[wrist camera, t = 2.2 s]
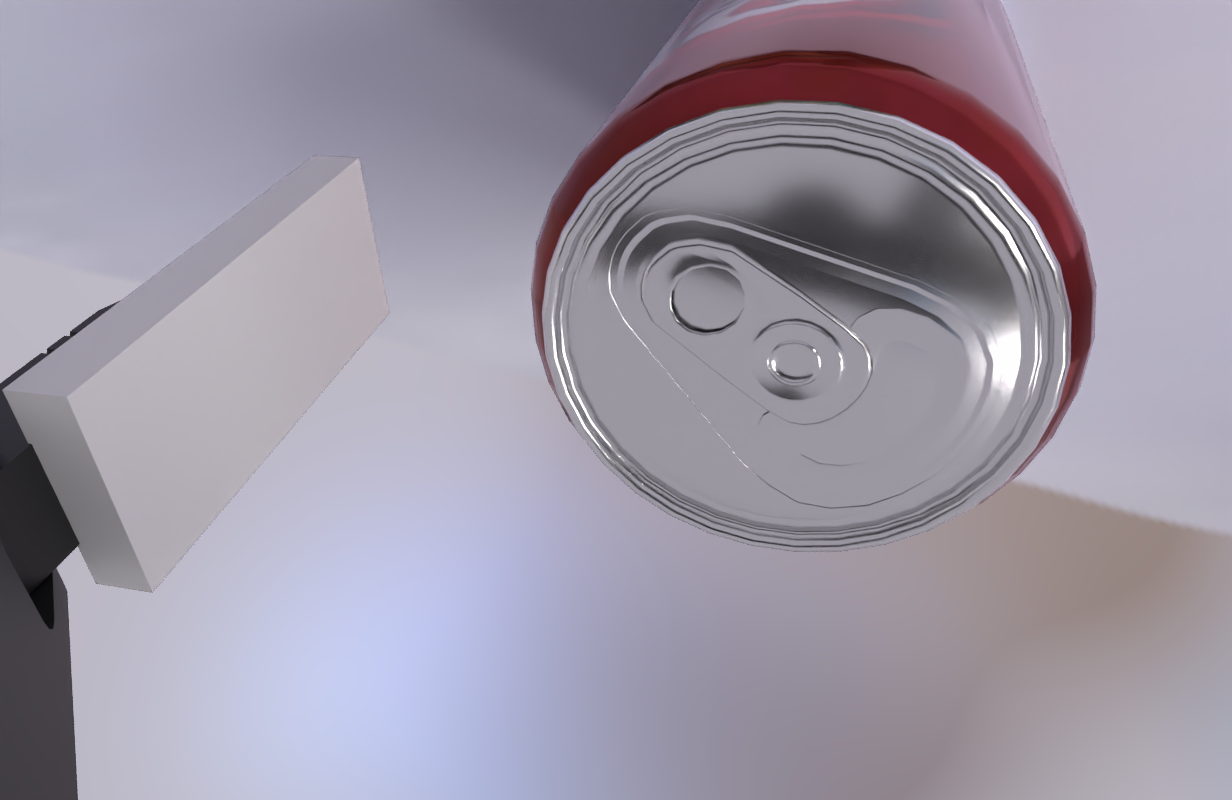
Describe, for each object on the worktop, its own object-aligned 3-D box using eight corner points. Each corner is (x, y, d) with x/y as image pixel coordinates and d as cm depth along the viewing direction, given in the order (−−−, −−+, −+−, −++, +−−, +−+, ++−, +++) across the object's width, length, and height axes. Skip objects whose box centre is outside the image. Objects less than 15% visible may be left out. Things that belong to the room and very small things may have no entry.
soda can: (1088, 69, 20) (1250, 367, 11) (840, 287, 25) (798, 643, 15) (838, -178, 19) (770, -87, 9) (621, 98, 23) (420, 356, 14)
